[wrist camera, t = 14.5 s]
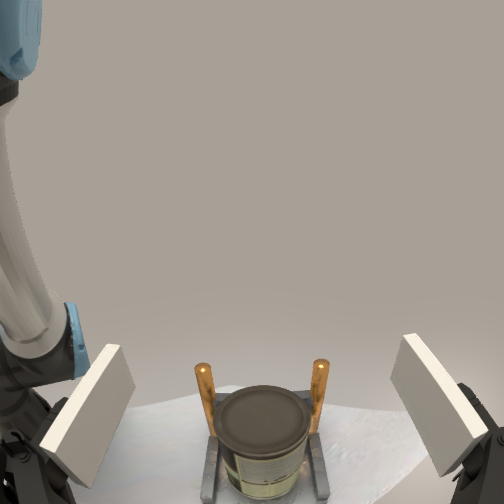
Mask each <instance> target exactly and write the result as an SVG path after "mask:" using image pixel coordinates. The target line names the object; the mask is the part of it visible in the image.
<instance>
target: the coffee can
mask: <svg viewBox="0 0 504 504" xmlns="http://www.w3.org/2000/svg"><path fill="white" fill-rule="evenodd" d="M310 426H311V413H310V410H309V408H308V406H307V404H306V403H305V402H304V400H303V399H302V398H301V397H299V396H298V395H297V394H295V393H293V392H292V391H289V390H287V389H284V388H280V387H276V386H269V385H259V386H252V387H247V388H243V389H240V390H237V391H235V392H233V393H232V394H230V395H228V396H227V397H226V398H225V399H223V400H222V401H221V403H220V404H219V405H218V406H217V408H216V410H215V412H214V416H213V427H214V431H215V434H216V436H217V438H218V442H219V446H220V450H221V453H222V457H223V460H224V464H225V468H226V471H227V477H228V480H229V482H230V484H231V486H232V487H233V488H234V489H235V490H236V491H237V492H239V493H240V494H242V495H244V496H246V497H249V498H252V499H258V500H267V499H274V498H277V497H280V496H282V495H284V494H286V493H287V492H289V491H290V490H291V489H292V488H293V487H294V486H295V485H296V483H297V481H298V479H299V476H300V469H301V464H302V460H303V455H304V451H305V446H306V440H307V435H308V433H309V430H310Z"/></svg>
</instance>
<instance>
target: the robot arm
mask: <svg viewBox="0 0 504 504" xmlns="http://www.w3.org/2000/svg"><path fill="white" fill-rule="evenodd" d="M41 18H42V0H0V504H76V502H75V499H74V497H73V494H72V491H71V488H70V486H69V484H68V482H67V479H68V477H69V478H70V479H71V480H73V481H74V482H75V483H76V484H79V485H81V486H84V487H86V488H89V489H91V487H92V484H93V482H94V480H95V477H96V475H97V472H98V470H99V467H100V465H101V463H102V460H103V458H104V456H105V453H106V451H107V449H108V446H109V444H110V442H111V440H112V437H113V435H114V433H115V431H116V428H117V426H118V424H119V422H120V420H121V417H122V415H123V413H124V411H125V409H126V407H127V404H128V402H129V400H130V398H131V396H132V394H133V391H134V390H135V388H136V387H135V384H134V381H133V379H132V376H131V373H130V371H129V368H128V365H127V363H126V360H125V357H124V354H123V351H122V348H121V346H120V345H113V344H107V345H106V346H105V348H104V349H103V350H102V352H101V353H100V355H99V356H98V357H97V359H96V360H95V362H94V363H93V364H92V366H91V367H90V362H89V359H88V355H87V351H86V347H85V343H84V339H83V334H82V331H81V326H80V322H79V316H78V311H77V306H76V304H75V303H68V302H65V303H63V302H62V300H61V298H60V297H59V296H58V295H57V294H56V293H55V292H53V291H52V290H50V289H47V288H46V287H45V285H44V283H43V280H42V278H41V275H40V273H39V270H38V268H37V265H36V263H35V260H34V257H33V255H32V252H31V249H30V246H29V243H28V240H27V237H26V234H25V230H24V227H23V223H22V220H21V216H20V213H19V209H18V205H17V201H16V197H15V192H14V188H13V183H12V178H11V172H10V167H9V160H8V154H7V146H6V137H5V126H4V120H5V118H6V116H7V114H8V113H9V111H10V110H11V108H12V107H13V105H14V104H15V102H16V101H17V99H18V83H19V80H23V78H25V77H27V76H28V75H30V74H31V73H32V72H33V70H34V68H35V66H36V62H37V58H38V47H39V44H40V34H41ZM84 375H85V376H84ZM81 376H84V377H83V379H82V380H81V381H80V383H79V385H78V386H77V387H76V389H75V390H74V392H73V393H72V395H71V397H70V398H66V397H63V398H62V399H61V400H60V401H58V402H57V403H56V404H55V405H54V407H53V408H51V406H50V405H49V403H47V401H46V400H45V399H44V398H42V397H41V396H40V395H39V394H38V393H37V392H36V391H35V390H34V389H32V387H37V386H42V385H47V384H52V383H56V382H61V381H65V380H70V379H71V380H75V379H76V378H77V377H81ZM390 379H391V381H392V383H393V385H394V386H395V388H396V390H397V392H398V394H399V396H400V398H401V399H402V401H403V403H404V405H405V407H406V409H407V411H408V413H409V415H410V417H411V419H412V421H413V423H414V425H415V427H416V429H417V430H418V432H419V435H420V437H421V439H422V441H423V443H424V445H425V447H426V449H427V451H428V453H429V455H430V457H431V459H432V462H433V464H434V466H435V468H436V470H437V472H438V475H439V477H443V476H445V475H447V474H449V473H451V472H453V471H455V470H456V469H457V467H458V466H459V465H460V464H461V463H462V465H463V467H464V468H463V469H462V470H461V471H460V472H459V473H458V474H457V475H456V476H455V477H454V478H453V480H452V481H453V482H454V481H455V480H456V479H457V478H458V477H459V479H458V481H457V482H458V483H457V486H456V489H455V492H454V495H453V498H452V500H451V503H450V504H504V427H500V428H499V427H498V426H497V424H496V423H495V422H494V420H493V419H492V417H491V416H490V415H489V413H488V412H487V410H486V409H485V408H484V406H483V405H482V404H481V402H480V401H479V399H478V398H476V395H475V394H474V393H473V391H472V390H471V389H470V388H469V387H467V386H466V385H464V384H463V383H460V384H457V385H456V383H455V382H454V381H453V379H452V378H451V377H450V375H449V374H448V373H447V371H446V370H445V369H444V368H443V366H442V365H441V364H440V362H439V361H438V360H437V359H436V357H435V356H434V355H433V354H432V352H431V351H430V350H429V349H428V347H427V346H426V345H425V344H424V343H423V341H422V340H421V339H420V338H419V337H418V335H417V334H416V333H414V334H408V335H403V336H402V340H401V344H400V347H399V351H398V355H397V358H396V361H395V364H394V368H393V371H392V374H391V377H390ZM4 479H5V480H6V481H7V484H6V486H5V485H4Z"/></svg>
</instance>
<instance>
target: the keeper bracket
mask: <svg viewBox="0 0 504 504" xmlns="http://www.w3.org/2000/svg"><path fill="white" fill-rule="evenodd" d="M329 365H330V363H329V361H327V360H326V359H318V360H315V361H314V364H313V373H312V381H311V390H305V391H293V393H295V394H297V395H298V396H299V397H301V398H302V399H303V400H304V402H305V403H306V404H307V406H308V408H309V410H310V413H311V426H310V430H309V433H308V435H307V440H306V446H305V451H304V455H303V460H302V464H301V469H300V476H299V479H298V481H297V483H296V485H295V486H294V487H293V488H292V489H291V490H290V491H289V492H287V493H286V494H284V495H282V496H280V497H277V498H274V499H267V500H258V499H252V498H249V497H246V496H244V495H242V494H240V493H239V492H237V491H236V490H235V489H234V488H233V487H232V486H231V484H230V482H229V480H228V477H227V471H226V468H225V464H224V460H223V457H222V453H221V450H220V446H219V442H218V438H217V436H216V434H215V431H214V427H213V416H214V412H215V410H216V408H217V406H218V405H219V404H220V403H221V401H222V400H223V399H225V398H226V397H227V396H228V395H230V394H232V393H215V389H214V384H213V378H212V372H211V367H210V365H209V364H207V363H199V364H197V365H196V366H195V368H194V369H195V374H196V378H197V383H198V387H199V391H200V396H201V400H202V404H203V408H204V412H205V416H206V420H207V424H208V428H209V431H210V435H211V436H209V440H208V447H207V454H206V460H205V467H204V474H203V481H202V488H201V495H200V498H201V500H202V501H203V503H204V504H326V503H327V498H328V497H329V495H330V489H329V484H328V478H327V473H326V468H325V463H324V458H323V452H322V447H321V442H320V437H319V433H317V430H318V425H319V420H320V416H321V411H322V406H323V400H324V395H325V389H326V384H327V378H328V372H329Z"/></svg>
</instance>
